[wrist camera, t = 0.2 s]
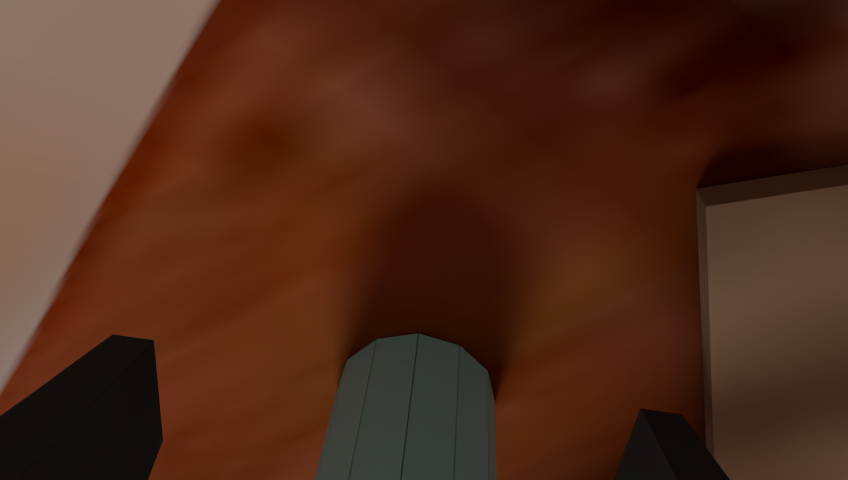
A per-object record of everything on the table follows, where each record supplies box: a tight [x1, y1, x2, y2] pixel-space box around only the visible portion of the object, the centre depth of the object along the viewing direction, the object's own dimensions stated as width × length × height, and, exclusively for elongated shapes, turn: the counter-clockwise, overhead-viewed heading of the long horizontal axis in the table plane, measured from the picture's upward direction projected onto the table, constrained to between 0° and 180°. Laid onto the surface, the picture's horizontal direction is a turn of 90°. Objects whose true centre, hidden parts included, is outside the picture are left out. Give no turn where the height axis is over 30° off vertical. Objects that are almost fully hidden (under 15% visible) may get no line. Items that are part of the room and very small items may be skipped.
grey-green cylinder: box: [314, 333, 497, 480], centre depth 21 cm, size 5×5×6 cm
